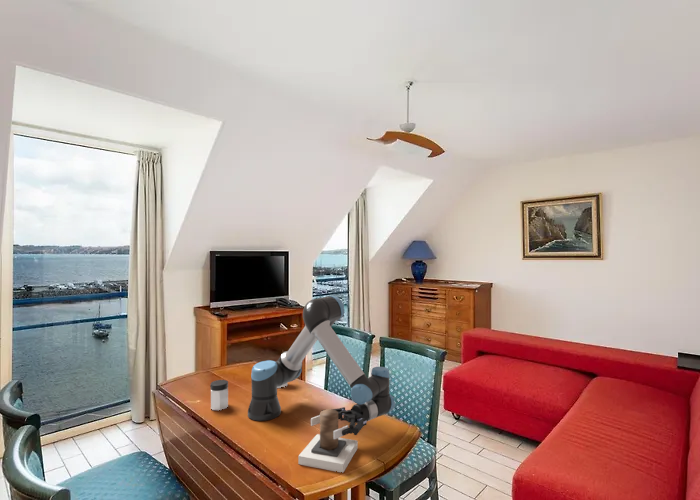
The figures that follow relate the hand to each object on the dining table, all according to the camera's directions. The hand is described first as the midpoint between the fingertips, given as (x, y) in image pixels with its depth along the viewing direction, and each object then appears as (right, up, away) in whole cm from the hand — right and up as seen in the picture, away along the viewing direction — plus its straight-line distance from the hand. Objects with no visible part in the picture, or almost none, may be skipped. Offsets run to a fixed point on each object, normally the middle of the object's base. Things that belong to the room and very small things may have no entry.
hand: (322, 428), depth 141 cm
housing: (+2, -11, +2) cm, 12 cm away
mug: (-31, -11, +75) cm, 81 cm away
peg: (+2, -11, +2) cm, 12 cm away
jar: (-54, -11, +46) cm, 72 cm away
